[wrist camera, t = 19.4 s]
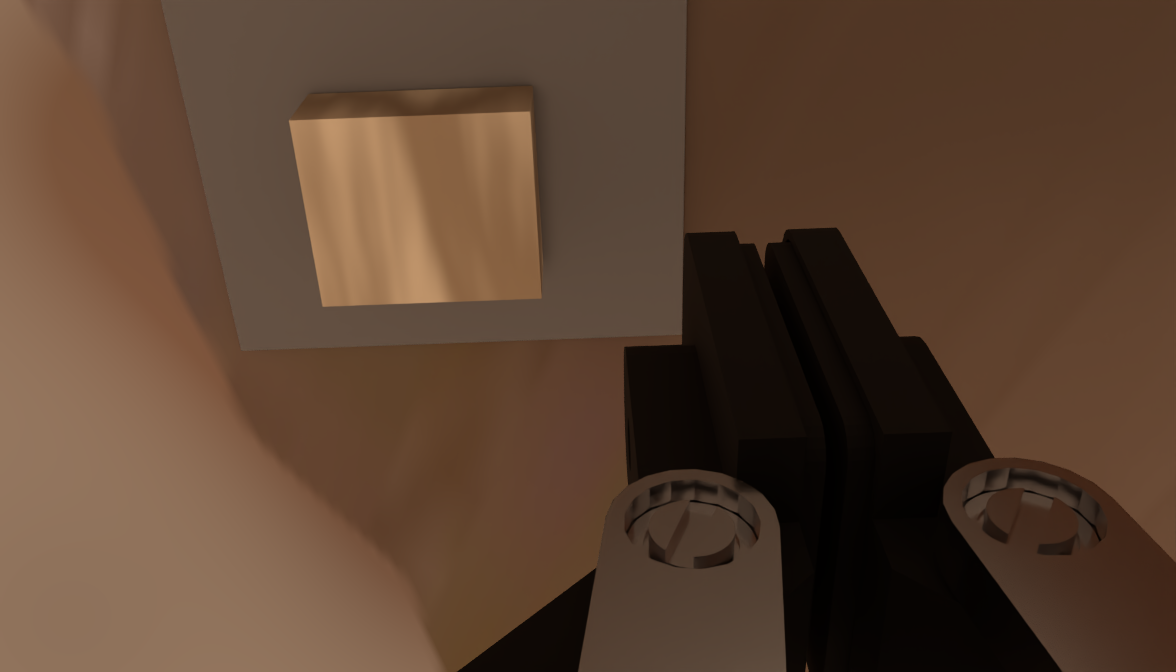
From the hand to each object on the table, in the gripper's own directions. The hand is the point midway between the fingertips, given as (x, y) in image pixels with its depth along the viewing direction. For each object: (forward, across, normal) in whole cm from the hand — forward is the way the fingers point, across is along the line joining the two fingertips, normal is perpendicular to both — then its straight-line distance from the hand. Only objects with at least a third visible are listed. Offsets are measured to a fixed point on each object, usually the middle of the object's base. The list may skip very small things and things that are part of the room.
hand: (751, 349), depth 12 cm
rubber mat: (+27, +7, +8) cm, 29 cm away
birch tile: (+25, +4, +8) cm, 26 cm away
